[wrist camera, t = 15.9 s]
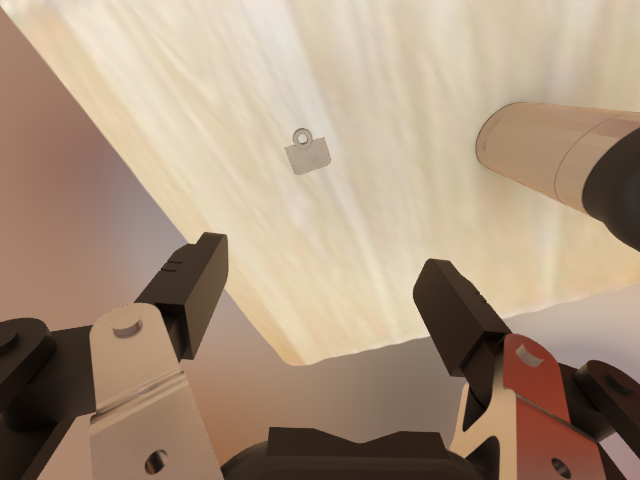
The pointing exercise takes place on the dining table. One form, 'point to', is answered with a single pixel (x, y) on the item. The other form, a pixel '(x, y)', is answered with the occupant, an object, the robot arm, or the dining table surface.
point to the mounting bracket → (307, 153)
